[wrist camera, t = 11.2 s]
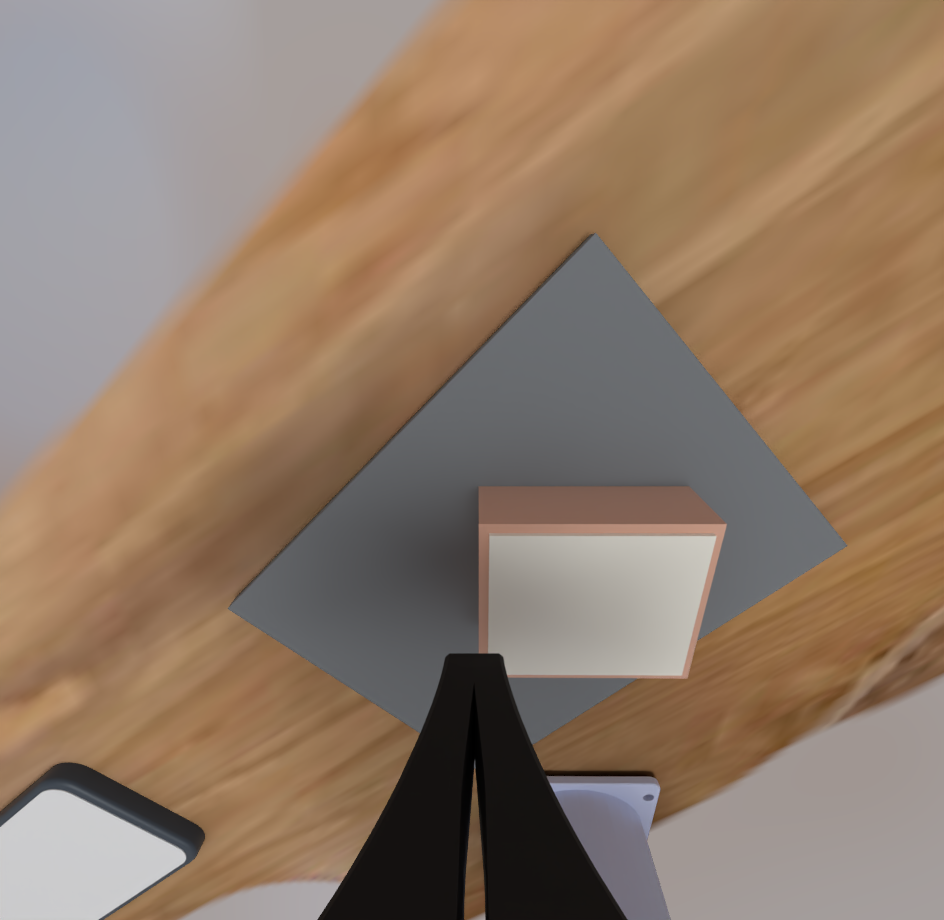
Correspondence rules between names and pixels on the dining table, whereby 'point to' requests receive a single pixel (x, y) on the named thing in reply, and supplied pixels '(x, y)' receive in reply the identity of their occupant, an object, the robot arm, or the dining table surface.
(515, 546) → the tile
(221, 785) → the dining table surface
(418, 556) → the mat
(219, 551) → the dining table surface
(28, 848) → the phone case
